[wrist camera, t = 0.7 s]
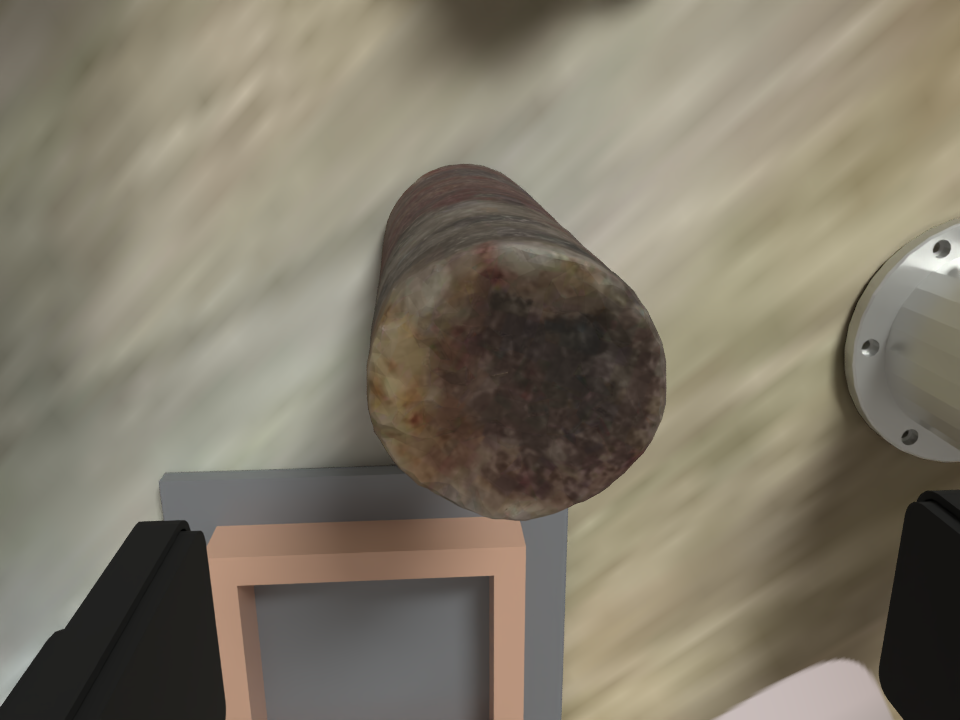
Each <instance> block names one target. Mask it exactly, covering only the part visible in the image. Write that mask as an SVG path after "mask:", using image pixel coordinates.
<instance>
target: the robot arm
mask: <svg viewBox="0 0 960 720" xmlns="http://www.w3.org/2000/svg"><path fill="white" fill-rule="evenodd" d="M934 245H935V246H934ZM933 247H934V248H933ZM864 343H865V344H864ZM863 344H864V345H863ZM845 375H846V379H847V384H848V389H849V393H850V395H851V397H852V399H853V402H854V404H855V406H856V408H857V410H858V412H859V413H860V415H861V416H862V417H863V419H864V420H865V421H866V422H867V424H868V425H869V426H870V428H872V429H873V430H874V431H875V432H876V433H878V434H879V435H880V436H881V437H883V438H884V439H885V440H886V441H888V442H889V443H891V444H892V445H894V446H895V447H896V448H898V449H899V450H901V451H903V452H906V453H908V454H911V455H914V456H916V457H919V458H922V459H926V460H932V461H939V462H960V218H956V219H953V220H950V221H948V222H945V223H943V224H940V225H938V226H935V227H933V228H930V229H929V230H927V231H926V232H924V233H922V234H921V235H919V236H917V237H916V238H914V239H913V240H911V241H909V242H908V243H907V244H905V245H904V246H903V247H902V248H901V249H900V250H899V251H897V252H896V253H895V254H894V255H893V256H892V257H890V258H889V259H888V260H887V261H886V263H885V264H884V265H883V266H882V267H881V269H880V270H879V271H878V272H877V273H876V275H875V276H874V277H873V278H872V279H871V281H870V282H869V284H868V286H867V288H866V289H865V291H864V293H863V294H862V296H861V298H860V299H859V301H858V303H857V306H856V308H855V311H854V314H853V316H852V319H851V322H850V324H849V328H848V333H847V339H846V344H845ZM879 679H880V683H881V687H882V690H883V692H884V694H885V696H886V697H887V699H888V700H889V702H890V703H891V704H892V705H893V707H894V708H895V709H896V710H897V712H898V713H899V714H900V716H901V717H902V718H903V719H904V720H960V490H940V491H925V492H924V493H922V494H921V495H920V496H919V498H918V499H917V502H913V503H911V504H910V505H909V506H908V508H907V510H906V513H905V518H904V524H903V530H902V536H901V542H900V547H899V553H898V559H897V565H896V571H895V577H894V583H893V588H892V594H891V600H890V606H889V612H888V618H887V624H886V629H885V635H884V641H883V647H882V653H881V659H880V664H879ZM0 720H226V700H225V692H224V684H223V676H222V668H221V660H220V652H219V644H218V636H217V628H216V620H215V611H214V603H213V595H212V587H211V579H210V571H209V563H208V555H207V547H206V540H205V536H204V533H203V532H202V531H191V529H190V527H189V524H188V522H187V521H186V520H170V521H144V522H138V523H137V524H136V525H135V527H134V528H133V529H132V531H131V532H130V534H129V535H128V537H127V538H126V540H125V541H124V543H123V544H122V546H121V547H120V548H119V550H118V551H117V553H116V554H115V556H114V557H113V559H112V560H111V562H110V563H109V565H108V566H107V567H106V569H105V570H104V572H103V573H102V575H101V576H100V578H99V579H98V581H97V582H96V584H95V585H94V586H93V588H92V589H91V591H90V592H89V594H88V595H87V597H86V598H85V600H84V601H83V603H82V604H81V605H80V607H79V608H78V610H77V611H76V613H75V614H74V616H73V617H72V619H71V620H70V622H69V623H68V624H67V626H66V627H65V629H62V630H59V631H57V632H55V633H54V634H53V635H52V636H51V637H50V638H49V639H48V640H47V641H46V643H45V644H44V646H43V647H42V649H41V650H40V651H39V653H38V654H37V656H36V657H35V658H34V660H33V661H32V663H31V664H30V666H29V667H28V668H27V670H26V671H25V673H24V674H23V676H22V677H21V678H20V680H19V681H18V683H17V684H16V686H15V687H14V688H13V690H12V691H11V693H10V694H9V696H8V697H7V698H6V700H5V701H4V703H3V704H2V705H1V707H0Z"/></svg>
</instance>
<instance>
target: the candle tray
mask: <svg viewBox="0 0 960 720" xmlns="http://www.w3.org/2000/svg"><path fill="white" fill-rule="evenodd" d="M159 488H160V495H161V502H162V510H163V517H164V521H170V520H186V521H187V522H188V524H189V527H190V529H191V531H202V532H203V533H204V536H205V540H206V547H207V555H208V563H209V571H210V579H211V587H212V595H213V603H214V611H215V620H216V628H217V636H218V644H219V652H220V660H221V668H222V676H223V684H224V692H225V700H226V720H561V712H562V681H563V650H564V619H565V588H566V557H567V526H568V508H567V509H565V510H562V511H560V512H558V513H555V514H552V515H548V516H544V517H540V518H535V519H531V520H527V521H514V520H506V519H490V518H487V517H483V516H481V515H479V514H477V513H475V512H472V511H469V510H466V509H463V508H461V507H459V506H457V505H455V504H453V503H452V502H450V501H448V500H446V499H445V498H443V497H441V496H439V495H436V494H434V493H433V492H431V491H430V490H429V489H427V488H424V487H421V486H419V485H417V484H416V483H415V482H414V481H413V480H412V479H411V478H410V477H409V476H408V475H407V474H405V473H404V472H403V471H402V470H400V469H399V468H398V466H370V467H338V468H306V469H274V470H242V471H210V472H178V473H165V474H164V475H163V477H162V478H161V479H160V481H159Z"/></svg>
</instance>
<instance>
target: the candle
mask: <svg viewBox="0 0 960 720" xmlns="http://www.w3.org/2000/svg"><path fill="white" fill-rule="evenodd" d="M367 402H368V410H369V413H370V417H371V421H372V424H373V428H374V432H375V433H376V435H377V436H378V438H379V439H380V441H381V442H382V444H383V446H384V448H385V449H386V451H387V453H388V454H389V455H390V457H391V458H392V460H393V461H394V463H395V464H396V465H397V466H398V468H399V469H400V470H402V471H403V472H404V473H405V474H407V475H408V476H409V477H410V478H411V479H412V480H413V481H414V482H415V483H416V484H417V485H419V486H421V487H424V488H427V489H429V490H430V491H431V492H433V493H434V494H436V495H439V496H441V497H443V498H445V499H446V500H448V501H450V502H452V503H453V504H455V505H457V506H459V507H461V508H463V509H466V510H469V511H472V512H475V513H477V514H479V515H481V516H483V517H487V518H490V519H506V520H514V521H527V520H531V519H535V518H540V517H544V516H548V515H552V514H555V513H558V512H560V511H562V510H565V509H567V508H569V507H571V506H572V505H574V504H577V503H580V502H583V501H586V500H588V499H589V498H591V497H593V496H595V495H597V494H599V493H600V492H602V491H603V490H605V489H606V488H608V487H609V486H610V485H611V484H612V483H613V482H614V481H615V480H616V479H618V478H619V477H620V476H621V475H622V474H624V473H625V472H626V471H627V469H628V468H629V467H630V466H631V465H632V464H633V463H634V462H635V461H636V460H637V459H638V458H639V457H640V456H641V455H642V454H643V453H644V451H645V450H646V448H647V447H648V446H649V444H650V443H651V441H652V439H653V437H654V435H655V433H656V431H657V429H658V426H659V424H660V422H661V420H662V417H663V413H664V409H665V405H666V359H665V354H664V349H663V344H662V341H661V339H660V337H659V334H658V332H657V330H656V328H655V326H654V324H653V321H652V319H651V317H650V315H649V313H648V311H647V309H646V308H645V307H644V306H643V304H642V303H641V302H640V300H639V298H638V297H637V295H636V294H635V292H634V291H633V290H632V289H631V288H630V287H629V286H628V285H627V284H626V283H625V282H624V281H623V280H622V279H621V278H620V277H619V276H618V275H617V274H615V273H614V272H612V271H611V270H610V269H609V268H608V267H607V266H606V265H605V264H604V263H603V262H601V261H600V260H599V259H598V258H597V257H596V256H594V255H593V254H592V253H591V252H590V251H589V250H587V249H586V248H585V247H584V246H583V245H582V244H581V243H580V242H579V241H578V240H577V239H576V238H575V237H574V236H573V235H572V234H571V233H570V232H569V231H567V230H566V229H565V228H563V227H562V226H561V225H560V224H559V223H558V222H557V221H556V220H555V219H554V218H553V217H552V216H551V215H550V214H549V213H548V212H547V211H545V210H544V209H543V208H542V206H541V205H539V204H538V203H537V202H536V201H535V200H534V199H533V198H532V197H531V196H530V195H529V194H528V193H527V192H526V191H524V190H523V189H522V188H521V187H520V186H518V185H517V184H516V183H515V182H513V181H512V180H511V179H509V178H508V177H507V176H505V175H504V174H502V173H501V172H498V171H495V170H493V169H490V168H488V167H485V166H481V165H474V164H458V165H448V166H444V167H440V168H438V169H435V170H433V171H430V172H428V173H427V174H425V175H423V176H421V177H420V178H419V179H418V180H417V181H416V182H415V183H414V184H412V185H411V186H410V187H409V188H408V189H407V190H406V191H405V192H404V193H403V195H402V196H401V197H400V199H399V200H398V202H397V203H396V205H395V206H394V208H393V210H392V211H391V214H390V216H389V219H388V221H387V225H386V230H385V236H384V242H383V249H382V261H381V271H380V279H379V286H378V291H377V298H376V306H375V312H374V317H373V323H372V329H371V338H370V351H369V357H368V362H367Z"/></svg>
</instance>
